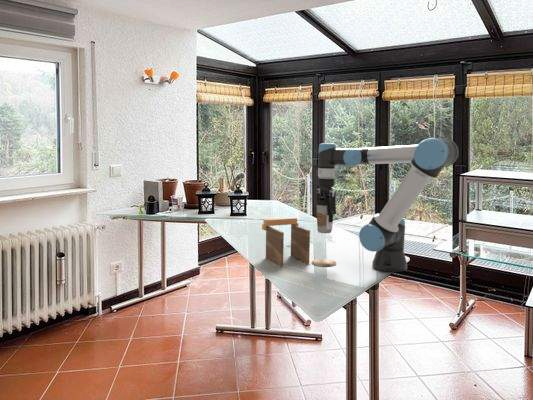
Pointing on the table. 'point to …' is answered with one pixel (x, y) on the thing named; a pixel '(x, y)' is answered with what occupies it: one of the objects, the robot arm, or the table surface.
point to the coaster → (323, 262)
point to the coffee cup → (322, 216)
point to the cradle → (298, 244)
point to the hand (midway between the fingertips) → (324, 227)
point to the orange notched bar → (279, 222)
